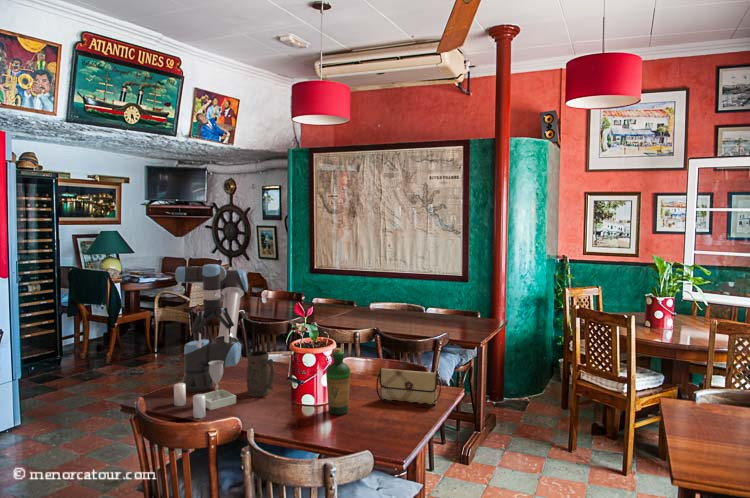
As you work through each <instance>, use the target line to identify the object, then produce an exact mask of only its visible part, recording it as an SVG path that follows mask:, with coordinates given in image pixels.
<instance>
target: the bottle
mask: <svg viewBox="0 0 750 498" xmlns="http://www.w3.org/2000/svg"><path fill="white" fill-rule="evenodd" d="M331 358H332V363H331V364H329V365H328V366H327V367H326V369H325V375H326V388H327V389H326V390H327V406H328V413H329V414H332V415H336V416H342V415H345V414H347V413H348V412H349V402H350V400H349V399H350V383H351V368H350V367H349V365H348V364H347V363H345V362H344V358H345V353H344V351H343V348H342V347H335V348H334V350H333V351H332V353H331Z"/></svg>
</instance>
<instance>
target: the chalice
mask: <svg viewBox="0 0 750 498" xmlns="http://www.w3.org/2000/svg"><path fill="white" fill-rule="evenodd" d="M223 363H224V361H222V360H215V361H211V362H209V363H208V364H209V366H210V367H209V371H210V376H211V378H212V380H213V384H215V386H214V388H215V390H214V391H215V392H216V395H215V396H214V397H213V399H212V401H215V400H219V399H222V398H221V396H220V395H218V391H219V390H220V389H219V388H220V386H219V382H220V381H221V379H222V377H223V374H224V367H223Z"/></svg>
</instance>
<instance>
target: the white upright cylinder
mask: <svg viewBox="0 0 750 498" xmlns="http://www.w3.org/2000/svg"><path fill="white" fill-rule="evenodd" d="M186 393H187V392H186V384H185V383H182V382H178V383H175V384H173V402H174V403H173V405H174V406H175V407H182V406H186V404H187V394H186Z"/></svg>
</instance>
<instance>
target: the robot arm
mask: <svg viewBox="0 0 750 498" xmlns="http://www.w3.org/2000/svg"><path fill="white" fill-rule="evenodd" d="M174 275H175V281H176V282H177V283H180V284H185V283H187V284H192V285H196V286H198V287H199V288H201V289H202V296H203V297H202V298H203V301H202V302H203V310H202V311H201V310H197V311H196V317H195V319H194V321H193V322H192V326H191V328H190V333H192V334H194V340H193V341H189V342H187V343H185V345H184V350H183V356H184V357H183V359H184V360H183V361H184V363H183V364H184V374H183V378H182V381H181V383H185V384H186V393H199V392H204V391H208V390H211V389H212V388H213V387H214V382H213V380H212V378H211V376H210V366H209V364H208V363H209V362H211V361H215V360H222V361H224V363H223V368H224V367H225V368H228V367H235V366H237V365H238V364H239V361H240V358H241V355H242V344H241V343H240V341H239V339H238V337H237V333H238V331H237V330H238V323H239V313H240V307H241V306H240V305H241V298H242V297H243V296H244V295H245V292H248V290H249V284H248V283H249V282H248V275H247V273H246V271H245V270H244V269H226V268H225V267H223V266H222V265H220V264H217V263H213V264H212V263H211V264H210V263H207V264H204V265H203V266H178V267H176V269H175V273H174ZM221 294H222V296H223V301H221ZM221 302H222V303H221ZM221 306H222V308H221ZM203 315H204V316H203ZM216 319H218V320H219V329H218V336H216V337H215V338H214V342H210V340H209V339H207V338H206V339H204V338H203V339H202V334H201V331H202V329H203V328H204V326H205V324H206V323H207V322H209V320H210V321H211V320H216Z"/></svg>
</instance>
